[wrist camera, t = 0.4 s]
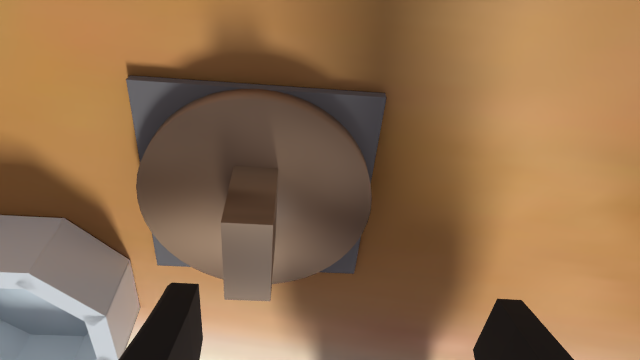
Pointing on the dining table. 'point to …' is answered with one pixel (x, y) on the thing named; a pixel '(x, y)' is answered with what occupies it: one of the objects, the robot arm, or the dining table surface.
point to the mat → (171, 94)
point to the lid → (254, 189)
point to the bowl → (62, 293)
